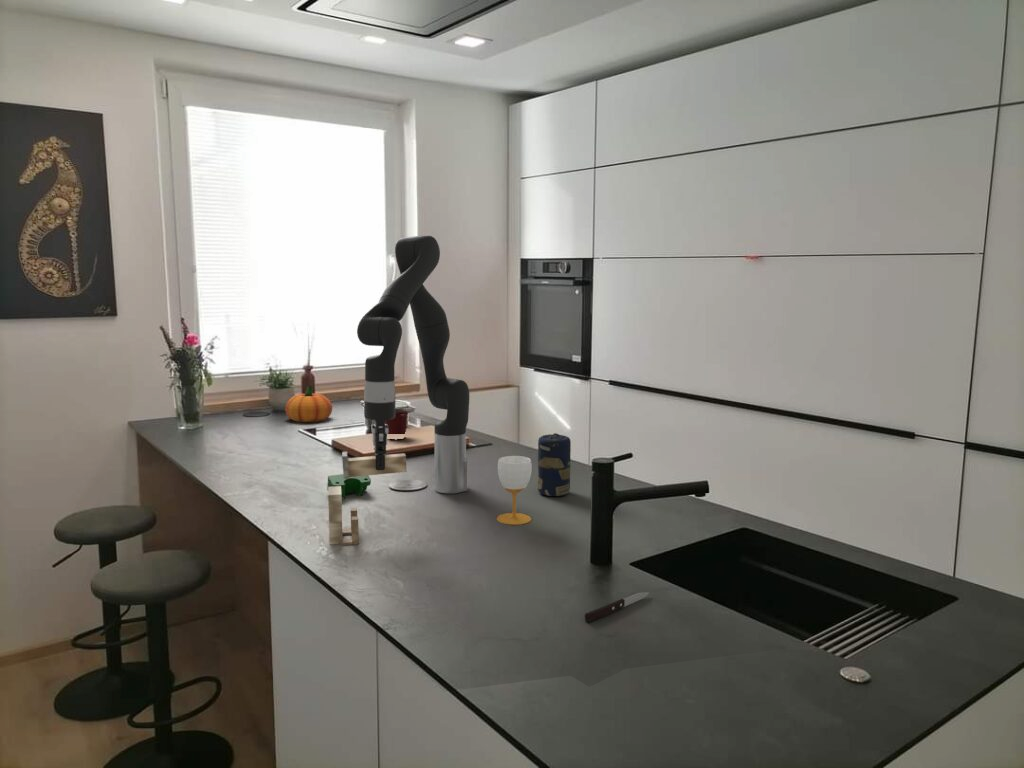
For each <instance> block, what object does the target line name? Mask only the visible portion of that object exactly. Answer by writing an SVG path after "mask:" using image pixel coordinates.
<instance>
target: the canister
mask: <svg viewBox="0 0 1024 768" xmlns="http://www.w3.org/2000/svg"><path fill="white" fill-rule="evenodd" d="M537 443H538V444H537V446H538V447H537V490H538V491H537V492H538V493H539V494H541V495H544V496H549V497H561V496H565V495H567V494H569V492H570V490H571V450H572V448H571V439H570V436H567V435H564V434H559V433H556V432H555V433H553V434H545V435H541V436H539V438H538V440H537Z"/></svg>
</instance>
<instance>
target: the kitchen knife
mask: <svg viewBox="0 0 1024 768" xmlns="http://www.w3.org/2000/svg"><path fill="white" fill-rule="evenodd" d="M649 593H650V592H638V593H636V594H633V595H631V596H628V597H626V598H621V599H618V600H616V601H613V602H610V603H608V604H606V605H603V606H601V607H598V608H596V609H593V610H590V611H588V612H585V614H584V620H585V623H587V624H590V623H591V622H593V621H595V620H596V619H600V618H604V617H607V616H609V615H611V614H613V613H615V612H617V611H619V610H620V609H623V608H625V607H627V606H629V605H632V604H634V603H636V602H639V601H641V600H642V599H644V598H646V597H647V596H648V595H649Z"/></svg>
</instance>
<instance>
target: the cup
mask: <svg viewBox="0 0 1024 768" xmlns="http://www.w3.org/2000/svg"><path fill="white" fill-rule="evenodd" d="M532 470H533V465H532V460H531V458H529V457H527V456H522V455H521V456H520V455H508V456H507V455H506V456H502V457H500V458H498V461H497V475H498V478H499V481H500V484H501V486H502V488H504V489H505V490H506V491H507V492H509V493H511V494H512V512H506V513H502V514H499V515H498V516H497V517H496V521H497V522H499V523H501V524H503V525H507V526H508V525H509V526H510V525H511V526H521V525H526V524H529V523H531V521H532V518H531V516H530V515H527V514H524V513H521V512H517V507H516V506H517V494H518V493H520V492H522V491H523V490H525V489H526V488H527V486H528V485H529V483H530V481H531V480H530V479H531V476H532Z"/></svg>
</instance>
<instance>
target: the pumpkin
mask: <svg viewBox="0 0 1024 768" xmlns="http://www.w3.org/2000/svg"><path fill="white" fill-rule="evenodd" d="M284 411H285V413H286V416H287V417H288V418H289V419H290V420H292V421H295V422H297V423H314V422H315V421H317V422H320V421H321V422H322V421H323V420H326V419H328V418H330V416H331V414H332V412H333V404H332V402H331V400H330V399H329V398H328V397H326V396H325V395H323V394H320V393H313V390H312V385H308V386H307V388H306V389H305V392H304V393H299V394H296V395H294V396H292V397H291V398H290V399H289V400H288V401H287V402H286V404H285V409H284ZM315 423H316V422H315Z"/></svg>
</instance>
